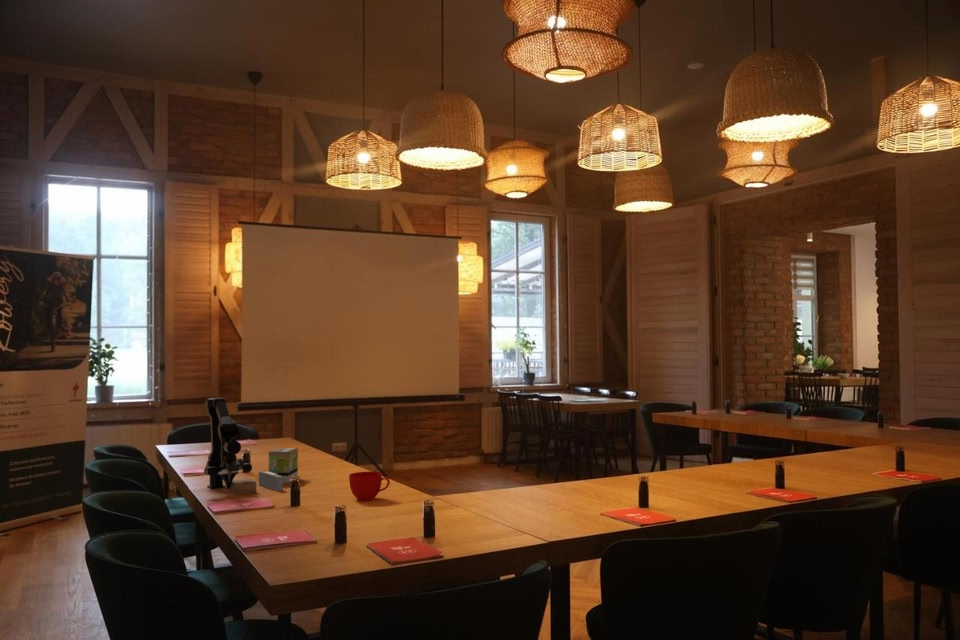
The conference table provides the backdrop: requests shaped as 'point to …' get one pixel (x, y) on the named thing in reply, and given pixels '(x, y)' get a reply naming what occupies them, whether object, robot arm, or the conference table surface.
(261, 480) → the gray and cream block
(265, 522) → the conference table surface
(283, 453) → the tea box
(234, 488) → the walnut block
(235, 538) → the conference table surface
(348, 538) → the conference table surface
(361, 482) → the ceramic cup
